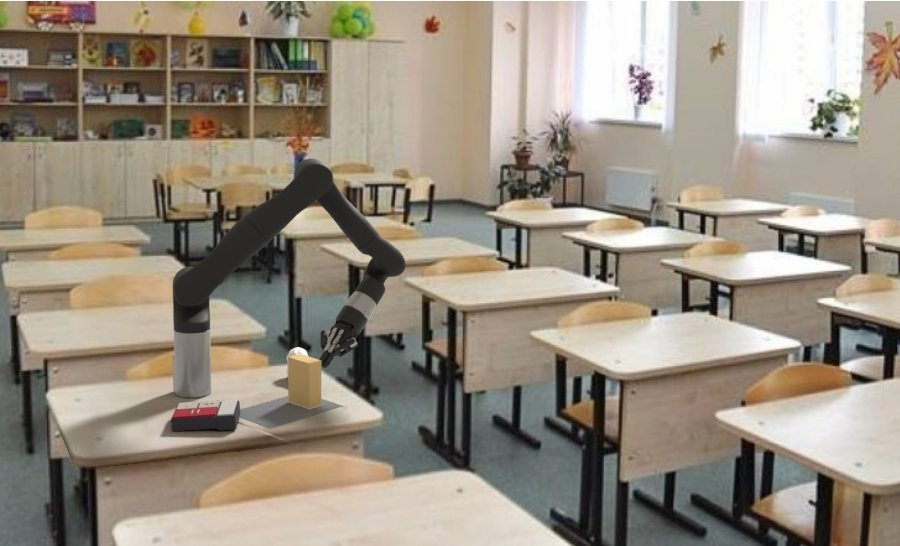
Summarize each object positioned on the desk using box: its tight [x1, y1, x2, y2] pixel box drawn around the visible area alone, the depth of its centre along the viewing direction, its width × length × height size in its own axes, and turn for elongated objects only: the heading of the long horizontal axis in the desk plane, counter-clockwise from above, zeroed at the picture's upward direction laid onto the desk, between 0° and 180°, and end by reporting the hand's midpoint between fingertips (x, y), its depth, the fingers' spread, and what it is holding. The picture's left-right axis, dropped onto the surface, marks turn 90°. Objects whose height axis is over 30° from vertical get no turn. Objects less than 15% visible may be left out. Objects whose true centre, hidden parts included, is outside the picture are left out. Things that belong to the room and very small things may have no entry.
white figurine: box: [286, 346, 310, 379], centre depth 291 cm, size 6×8×12 cm
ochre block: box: [287, 354, 322, 409], centre depth 270 cm, size 8×4×12 cm, turn 49°
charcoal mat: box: [239, 395, 343, 429], centre depth 267 cm, size 16×24×1 cm, turn 139°
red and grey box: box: [170, 399, 241, 432], centre depth 256 cm, size 11×4×15 cm
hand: (321, 366), depth 274 cm, fingers closed
